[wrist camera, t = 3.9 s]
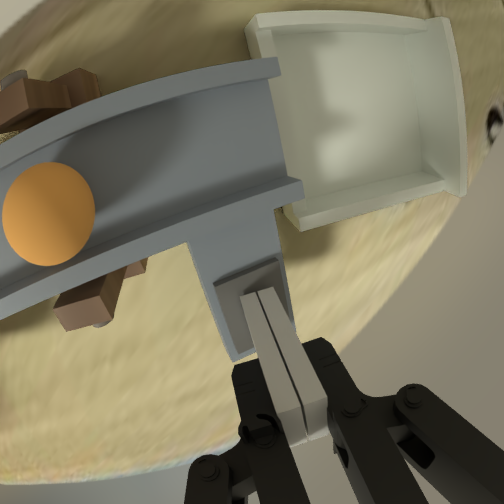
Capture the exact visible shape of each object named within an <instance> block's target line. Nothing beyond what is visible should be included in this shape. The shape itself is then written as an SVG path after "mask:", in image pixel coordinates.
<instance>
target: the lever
mask: <svg viewBox="0 0 504 504" xmlns="http://www.w3.org/2000/svg"><path fill="white" fill-rule="evenodd" d="M277 76H281V70H280V66H279V62H278V57H269V58H260V59H252V60H245V61H238V62H232V63H226V64H221V65H215V66H210V67H205V68H200V69H195V70H191V71H186V72H182V73H178V74H174V75H170V76H166V77H162V78H159V79H155V80H152V81H148V82H145V83H141V84H138V85H135V86H132V87H128V88H125V89H122V90H119V91H116V92H114V93H111V94H108V95H105V96H102V97H100V98H97V99H94V100H92V101H89V102H87V103H84V104H82V105H79V106H77V107H74V108H72V109H70V110H67V111H65V112H63V113H60V114H58V115H56V116H54V117H52V118H50V119H47V120H45V121H43V122H41V123H39V124H37V125H35V126H33V127H31V128H29V129H27V130H25V131H23V132H22V133H20V134H18V135H16V136H14V137H12V138H11V139H9V140H7V141H5V142H3V143H2V144H0V320H2V319H4V318H6V317H8V316H10V315H13V314H15V313H17V312H19V311H21V310H24V309H26V308H28V307H30V306H33V305H35V304H37V303H39V302H42V301H44V300H46V299H48V298H51V297H53V296H55V295H58V294H60V293H62V292H65V291H67V290H69V289H72V288H74V287H76V286H79V285H81V284H83V283H86V282H88V281H91V280H93V279H95V278H98V277H100V276H102V275H105V274H107V273H110V272H112V271H115V270H117V269H119V268H122V267H124V266H127V265H129V264H132V263H134V262H137V261H139V260H142V259H144V258H147V257H149V256H152V255H154V254H157V253H159V252H162V251H164V250H167V249H169V248H172V247H175V246H177V245H180V244H182V243H185V242H187V245H188V248H189V251H190V254H191V257H192V260H193V263H194V265H195V268H196V271H197V274H198V277H199V280H200V282H201V285H202V288H203V291H204V294H205V296H206V299H207V302H208V304H209V307H210V310H211V312H212V315H213V318H214V320H215V323H216V326H217V328H218V331H219V334H220V336H221V339H222V341H223V344H224V346H225V349H226V351H227V353H228V355H229V357H230V359H231V360H232V362H235V361H237V360H240V359H242V358H244V357H246V356H248V355H251V354H253V353H255V352H256V349H255V346H254V343H253V340H252V337H251V333H250V330H249V327H248V323H247V320H246V317H245V313H244V310H243V307H242V303H241V300H240V296H243V295H247V294H250V293H253V292H256V295H257V297H258V300H259V296H258V292H257V291H260V290H263V289H267V288H270V287H273V288H274V290H275V292H276V294H277V296H278V298H279V300H280V302H281V304H282V306H283V308H284V310H285V312H286V314H287V316H288V318H289V320H290V322H291V324H292V326H293V328H294V330H295V332H296V328H295V322H294V316H293V310H292V305H291V299H290V294H289V288H288V283H287V277H286V272H285V266H284V261H283V256H282V250H281V245H280V240H279V235H278V230H277V225H276V220H275V215H274V210H273V209H276V208H279V207H282V206H284V205H287V204H290V203H293V202H296V201H299V200H301V199H304V198H305V195H304V188H303V182H302V180H300V179H297V178H293V177H290V176H288V175H287V170H286V164H285V159H284V154H283V149H282V144H281V139H280V134H279V129H278V124H277V119H276V114H275V110H274V105H273V101H272V96H271V91H270V87H269V83H268V79H271V78H274V77H277ZM44 162H56V163H61V164H65V165H67V166H69V167H71V168H73V169H74V170H76V171H77V172H78V173H79V174H80V175H81V176H82V177H83V178H84V179H85V181H86V182H87V184H88V185H89V187H90V190H91V192H92V195H93V198H94V204H95V220H94V225H93V229H92V232H91V234H90V236H89V239H88V240H87V242H86V244H85V245H84V247H83V248H82V249H81V250H80V251H79V252H78V253H77V254H76V255H75V256H74V257H72V258H71V259H69V260H67V261H65V262H63V263H60V264H57V265H52V266H42V265H36V264H33V263H30V262H28V261H26V260H25V259H23V258H22V257H20V256H19V255H18V254H17V253H16V252H15V251H14V250H13V248H12V247H11V245H10V244H9V242H8V240H7V238H6V235H5V232H4V229H3V223H2V210H3V203H4V200H5V197H6V194H7V192H8V190H9V188H10V186H11V185H12V183H13V182H14V180H15V179H16V178H17V177H18V176H19V175H20V174H21V173H22V172H23V171H25V170H27V169H28V168H30V167H32V166H34V165H36V164H40V163H44ZM259 302H260V300H259ZM260 305H261V304H260Z"/></svg>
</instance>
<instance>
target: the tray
mask: <svg viewBox="0 0 504 504" xmlns="http://www.w3.org/2000/svg"><path fill="white" fill-rule="evenodd" d="M244 33H245V37H246V41H247V45H248V49H249V53H250V57H251V60H252V59H260V58H269V57H278V62H279V66H280V70H281V76H277V77H274V78H271V79H268V83H269V87H270V91H271V96H272V101H273V105H274V110H275V114H276V119H277V124H278V129H279V134H280V139H281V144H282V149H283V154H284V159H285V164H286V170H287V175H288V176H290V177H293V178H297V179H300V180H302V182H303V188H304V195H305V198H304V199H301V200H299V201H296V202H293V203H290V204H287V205H284V206H282V207H283V213H284V215H285V216H286V217H287V218H288V219H289V220H290V221H291V222H292V223H293V225H294V226H295V227H296V228H297V229H298V230H299V231H300V232H303V231H306V230H310V229H313V228H317V227H320V226H324V225H327V224H331V223H334V222H338V221H341V220H345V219H348V218H351V217H355V216H358V215H362V214H365V213H369V212H372V211H376V210H379V209H383V208H386V207H390V206H393V205H397V204H400V203H404V202H407V201H411V200H414V199H418V198H421V197H425V196H428V195H432V194H435V193H439V192H442V191H446V192H448V193H450V194H453V195H455V196H457V197H459V198H460V197H463V196H466V195H467V168H468V162H467V129H466V115H465V104H464V95H463V86H462V79H461V73H460V66H459V61H458V55H457V50H456V45H455V40H454V36H453V31H452V27H451V23H450V19H449V18H446V17H442V16H440V17H435V18H430V19H419V18H414V17H407V16H401V15H393V14H385V13H375V12H362V11H344V10H301V11H282V12H269V13H259V14H255V15H254V17H253V18H252V19H251V20H250V22H249V23H248V24H247V26H246V27H245V28H244Z"/></svg>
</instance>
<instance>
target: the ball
mask: <svg viewBox="0 0 504 504" xmlns="http://www.w3.org/2000/svg"><path fill="white" fill-rule="evenodd" d="M94 220H95V204H94V198H93V195H92V192H91V190H90V187H89V185H88V184H87V182H86V181H85V179H84V178H83V177H82V176H81V175H80V174H79V173H78V172H77V171H76V170H74V169H73V168H71V167H69V166H67V165H65V164H61V163H56V162H44V163H40V164H36V165H34V166H32V167H30V168H28V169H27V170H25V171H23V172H22V173H21V174H20V175H19V176H18V177H17V178H16V179H15V180H14V182H13V183H12V185H11V186H10V188H9V190H8V192H7V194H6V197H5V200H4V203H3V210H2V223H3V229H4V232H5V235H6V238H7V240H8V242H9V244H10V245H11V247H12V248H13V250H14V251H15V252H16V253H17V254H18V255H19V256H20V257H22V258H23V259H25V260H26V261H28V262H30V263H33V264H36V265H42V266H52V265H57V264H60V263H63V262H65V261H67V260H69V259H71V258H72V257H74V256H75V255H76V254H77V253H78V252H79V251H80V250H81V249H82V248H83V247H84V245H85V244H86V242H87V240H88V239H89V236H90V234H91V232H92V229H93V225H94Z"/></svg>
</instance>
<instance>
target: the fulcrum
mask: <svg viewBox="0 0 504 504" xmlns="http://www.w3.org/2000/svg"><path fill="white" fill-rule="evenodd" d="M0 84H1V90H2V91H1V92H0V134H2V133H7V132H12V131H17V130H19V133H22V132H23V131H25V130H27V129H29V128H31V127H33V126H35V125H37V124H39V123H41V122H43V121H45V120H47V119H50V118H52V117H54V116H56V115H58V114H60V113H63V112H65V111H67V110H70V109H72V108H74V107H77V106H79V105H82V104H84V103H87V102H89V101H92V100H94V99H97V98H100V97H101V94H100V90H99V86H98V82H97V77H96V75H95V74H93V73H90V72H88V71H86V70H83V69H81V68H78V69H75V70H73V71H71V72H69V73H67V74H65V75H63V76H61V77H59V78H57V79H55V80H53V81H51V82H46V81H40V80H34V79H28V76H27V71H26V70H20V71H16V72H14V73H11V74H9V75H8V76H6V77H5V78H3V79H2V80H1V82H0ZM147 260H148V257H147V258H144V259H142V260H139V261H137V262H134V263H132V264H129V265H127V266H124V267H122V268H119V269H117V270H115V271H112V272H110V273H107V274H105V275H102V276H100V277H98V278H95V279H93V280H91V281H88V282H86V283H83V284H81V285H79V286H76V287H74V288H72V289H69V290H67V291H65V292H62V293H61V294H60V296H59V298H58V300H57V302H56V304H55V305H54V307H53V311H54V313H55V314H56V316H57V318H58V319H59V321H60V323H61V324H62V326H63V327H64V329H65V330H66V332H67V331H71V330H75V329H79V328H82V327H86V326H90V325H93V326H94V327H96V328H99V327H103V326H105V325H107V324H108V323H109V322H111V321H112V319H113V318H114V312H115V308H116V304H117V301H118V297H119V293H120V290H121V286H122V283H123V279H126V278H129V277H132V276H136V275H139V274H142V273H145V270H146V265H147Z"/></svg>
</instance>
